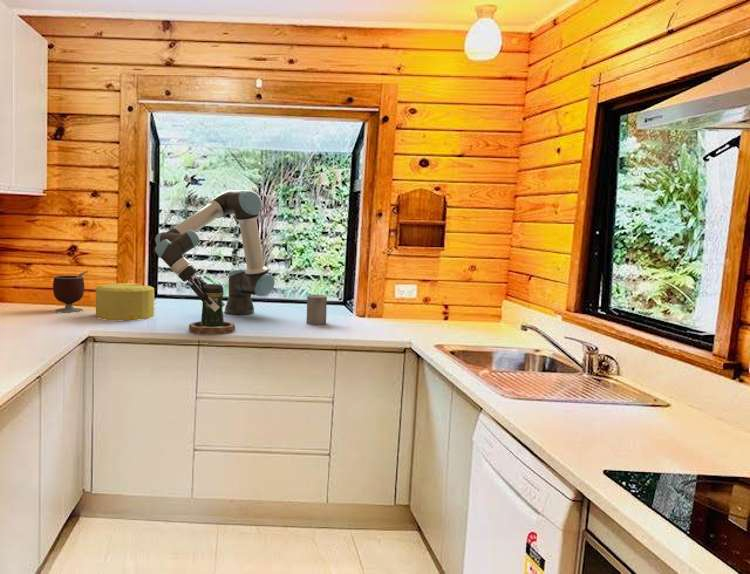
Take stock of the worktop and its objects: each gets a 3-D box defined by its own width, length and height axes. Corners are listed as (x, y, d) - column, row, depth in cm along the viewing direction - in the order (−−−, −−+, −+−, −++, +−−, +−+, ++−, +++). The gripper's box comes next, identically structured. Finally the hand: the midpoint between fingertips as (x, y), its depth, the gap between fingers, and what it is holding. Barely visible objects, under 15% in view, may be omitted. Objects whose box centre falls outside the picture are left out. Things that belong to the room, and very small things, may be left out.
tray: (228, 325, 278) (228, 320, 277) (239, 333, 261) (239, 327, 261) (185, 327, 269) (185, 321, 268) (194, 335, 252) (194, 329, 252)
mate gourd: (53, 313, 288) (53, 272, 286) (52, 309, 300) (52, 269, 298) (89, 312, 296) (89, 272, 294) (86, 308, 308) (86, 269, 306)
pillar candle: (311, 320, 301) (312, 291, 299) (329, 322, 297) (330, 292, 296) (302, 324, 292) (303, 293, 290) (321, 325, 288) (321, 295, 287)
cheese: (161, 313, 303) (161, 284, 302) (143, 322, 277) (143, 290, 276) (109, 311, 302) (109, 281, 301) (85, 319, 276) (85, 287, 275)
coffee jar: (224, 324, 269) (225, 283, 267) (222, 327, 262) (223, 285, 259) (202, 324, 268) (202, 282, 266) (199, 327, 260) (200, 284, 258)
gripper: (186, 273, 273) (220, 310, 274) (169, 277, 252) (206, 317, 254) (198, 262, 272) (232, 299, 274) (182, 266, 252) (219, 305, 253)
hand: (220, 308), depth 264 cm, fingers closed on coffee jar, 8 cm apart
